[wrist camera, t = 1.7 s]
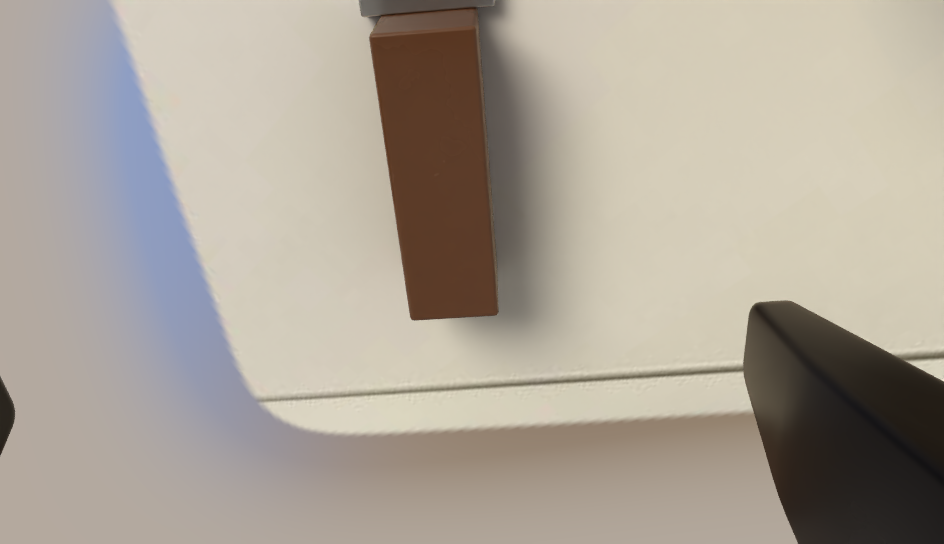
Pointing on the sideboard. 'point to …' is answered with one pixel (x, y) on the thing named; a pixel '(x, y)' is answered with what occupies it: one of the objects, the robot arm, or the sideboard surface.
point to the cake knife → (437, 152)
